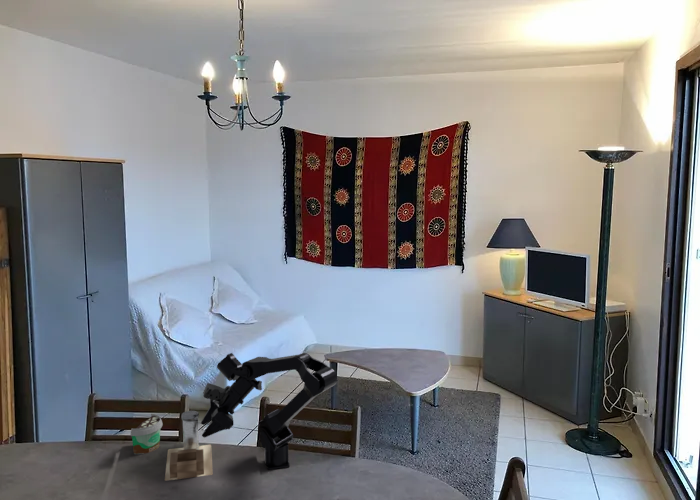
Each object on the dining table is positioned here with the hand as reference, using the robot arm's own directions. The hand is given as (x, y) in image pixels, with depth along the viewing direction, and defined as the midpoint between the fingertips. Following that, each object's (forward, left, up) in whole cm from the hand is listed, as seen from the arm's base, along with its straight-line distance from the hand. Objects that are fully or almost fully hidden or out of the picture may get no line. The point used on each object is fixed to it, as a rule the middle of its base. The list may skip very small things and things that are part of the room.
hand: (202, 430), depth 172 cm
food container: (+15, -8, -9) cm, 20 cm away
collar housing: (+4, +4, -9) cm, 11 cm away
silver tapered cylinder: (+3, 0, -8) cm, 8 cm away
